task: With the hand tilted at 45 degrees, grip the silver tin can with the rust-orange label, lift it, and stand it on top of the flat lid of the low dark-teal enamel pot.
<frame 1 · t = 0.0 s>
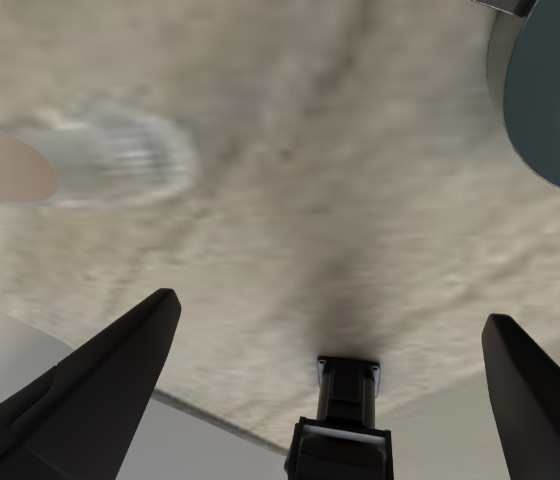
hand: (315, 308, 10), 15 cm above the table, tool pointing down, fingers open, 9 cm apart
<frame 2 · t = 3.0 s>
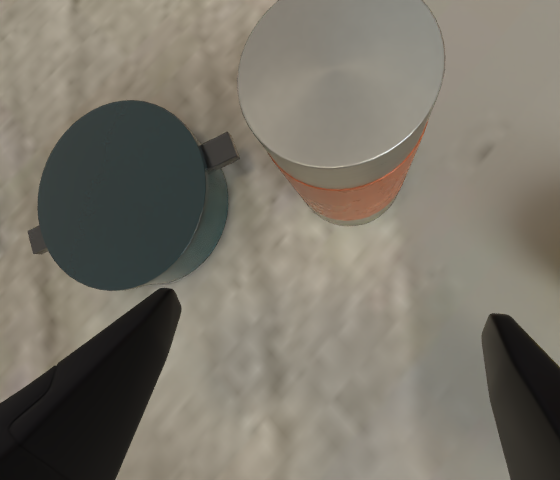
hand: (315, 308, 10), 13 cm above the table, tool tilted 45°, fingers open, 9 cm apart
pot: (156, 206, 27), on the table
can: (349, 178, 24), on the table
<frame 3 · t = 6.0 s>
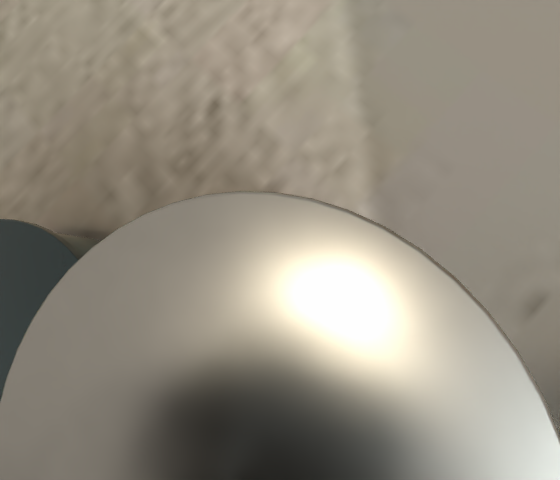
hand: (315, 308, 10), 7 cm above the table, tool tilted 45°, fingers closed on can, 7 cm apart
pot: (68, 342, 20), on the table
can: (332, 326, 16), on the table, touching gripper
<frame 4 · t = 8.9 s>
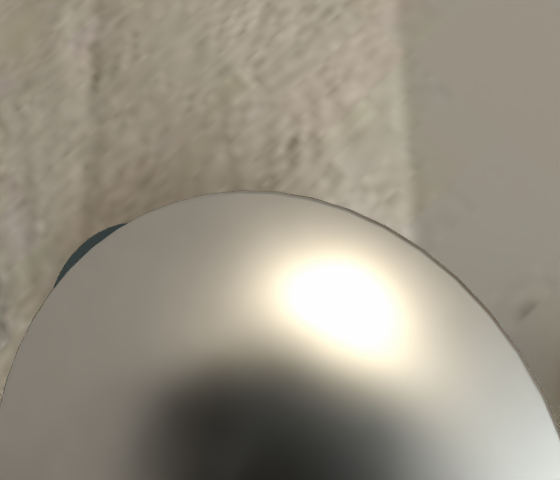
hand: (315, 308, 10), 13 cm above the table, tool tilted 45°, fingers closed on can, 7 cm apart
pot: (169, 315, 26), on the table
can: (332, 326, 16), point 7 cm above the table, touching gripper
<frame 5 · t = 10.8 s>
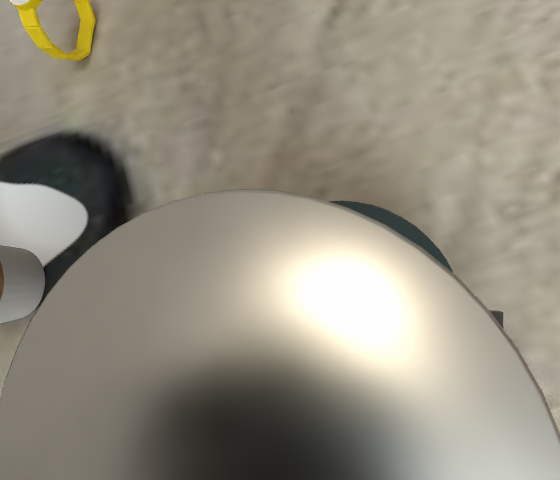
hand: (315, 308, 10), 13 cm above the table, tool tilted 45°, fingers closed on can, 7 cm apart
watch: (89, 40, 30), on the table
pot: (341, 309, 23), on the table
can: (332, 326, 16), point 7 cm above the table, touching gripper
coffee cup: (19, 283, 29), on the table
when the fingers open (11 cm above the table, at t = 12.2 s): can stays where it is, resting on pot.
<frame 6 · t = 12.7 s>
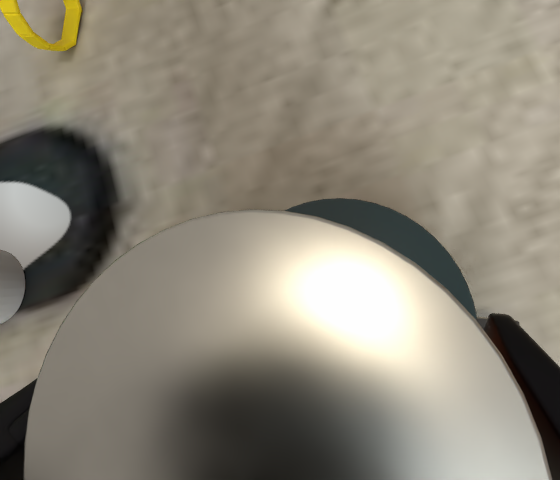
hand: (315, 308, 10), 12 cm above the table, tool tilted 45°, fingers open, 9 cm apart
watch: (75, 31, 29), on the table
pot: (340, 316, 21), on the table
can: (333, 328, 17), point 4 cm above the table, touching pot
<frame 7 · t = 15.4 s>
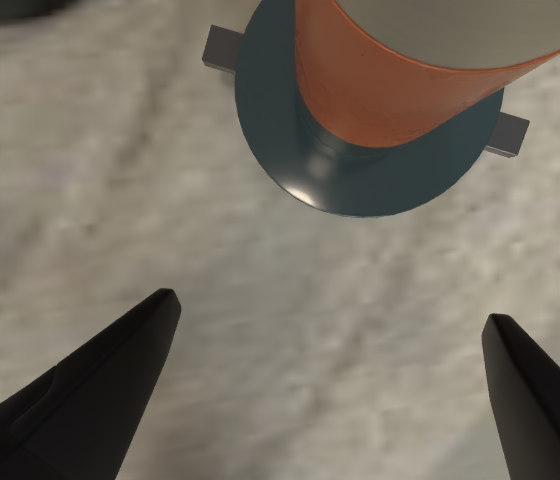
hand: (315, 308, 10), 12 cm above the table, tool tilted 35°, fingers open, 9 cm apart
pot: (352, 110, 21), on the table
can: (366, 85, 16), point 4 cm above the table, touching pot
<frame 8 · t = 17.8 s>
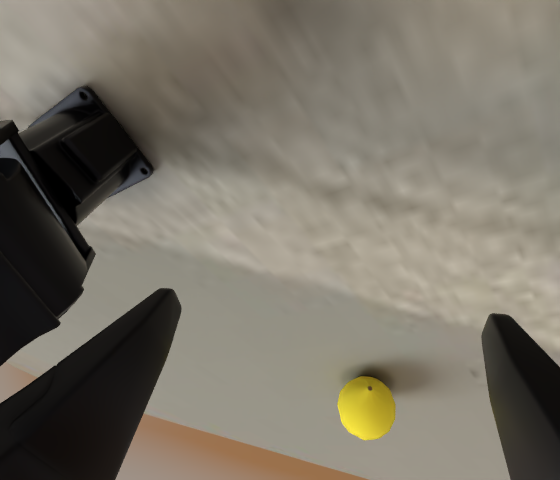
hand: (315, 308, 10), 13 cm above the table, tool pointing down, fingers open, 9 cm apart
lemon: (366, 378, 36), on the table
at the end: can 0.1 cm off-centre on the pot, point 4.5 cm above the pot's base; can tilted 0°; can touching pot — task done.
